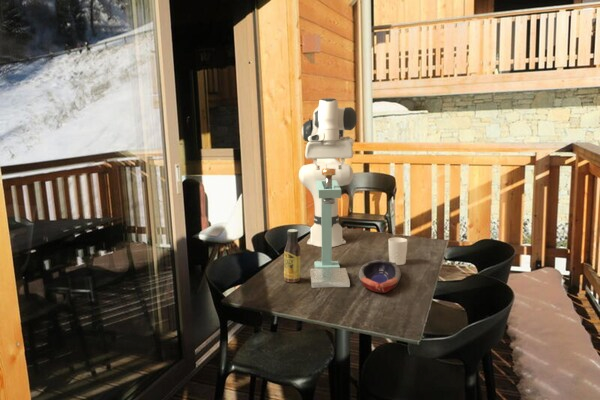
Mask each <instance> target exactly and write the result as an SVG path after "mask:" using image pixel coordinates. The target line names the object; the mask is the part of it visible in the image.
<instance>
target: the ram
mask: <svg viewBox="0 0 600 400" xmlns="http://www.w3.org/2000/svg"><path fill="white" fill-rule="evenodd" d="M322 175H325V182H326V189H332V175H336V169H331V168H327V169H322ZM323 203H324V204H333V203H335V198H323Z"/></svg>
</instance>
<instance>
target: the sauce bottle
mask: <svg viewBox="0 0 600 400" xmlns="http://www.w3.org/2000/svg"><path fill="white" fill-rule="evenodd" d="M286 234H287V241H286V245H285V247H284V250H283V252H284V253H283V254H284V255H283V259H284V260H283V268H284V269H283V277H284V281H285V282H287V283H290V284H291V283H293V284H294V283H298V282H300V280H301V263H302V262H301V261H302V260H301V257H302V256H301V255H302V254H301V246H300V244H299V241H298V234H299V230H298V229H294V228H292V229H291V228H289V229H288V230H287V233H286Z"/></svg>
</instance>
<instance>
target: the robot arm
mask: <svg viewBox="0 0 600 400" xmlns="http://www.w3.org/2000/svg"><path fill="white" fill-rule="evenodd" d="M318 102H319V103H318V106H317V107H316V108H315V109H314V110H313V112H312V119H311V118H309V119H308V120H306V121H305V122H304V123H303V124H302V127H301V131H300V132H301V133H300V134H301V137H302V139H303V141H304V142H307V144H306V146H305V152H304V154H305V155H304V157H305V159H306V160H312V161H313V162H312V163H308V164H304V165H302V166H301V167H300V168H299V172H298V180H299V181H300V182H299V183H300V184H302V185H303V186H304V187H305V188H306V189H307V190H308V191H309V192H310V194H311V196H312V199H313V203H314V204H313V205H314V215H313V225H312V226H311V227H310V229H309V233H310V236H309V238H308V240H307V242H306V244H307V245H311V246H314V247H318V248H322V232H321V198H319V197H318V193H317V189H316V180H325V175H322V169H327V168H331V169H336V175H332V180H336V181H337V183H338V185H339V186H340V187H343V186H347V185H350V184H351V183H352V182H353V179H354V175H355V174H354V170H353V168H352V166H351V165H350V164H348V163H345V162H346V161H345V159H352V158H353V157H354V151H353V146H354V139H353V138H352V137H350V136H345V131H352V130H353V129H354V128H355V127H356V126H357V122H358V115H357V112H356V110H355V109H354V108H353V107H352V106H350V107H349V106H347V107H339V102H338V99H336V98H332V97H331V98H327V97H326V98H321V99H320V100H318ZM338 159H340V160H338ZM338 212H339V200H338V198H335V203H333V204H332V248H333V247H334V248H335V247H338V246H340V245H341V246H342V245H345V244H347V241H346V240H345V239H344V238H343V226H342V225H341V224H340V222H339V221H340V220H339V219H340V216H339V213H338Z"/></svg>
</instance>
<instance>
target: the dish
mask: <svg viewBox="0 0 600 400" xmlns="http://www.w3.org/2000/svg"><path fill="white" fill-rule="evenodd" d="M401 276H402V275H401V270H400V268H399V265H396V263H395V262H394V263H393V262H390V261H389V260H385V259H375V260H370V261H368V262H366V263H364V264H363V265H362V266H361V267H360V269H359V271H358V278H359V280H360V283H361V284H362V285H363V287H364V288H366V289H368V290H369V291H372V292H377V293H380V294H381V293H388V292H389V291H391V290H393V289H395V288H396V287H397V286H398V284H399V282H400V279H401Z"/></svg>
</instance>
